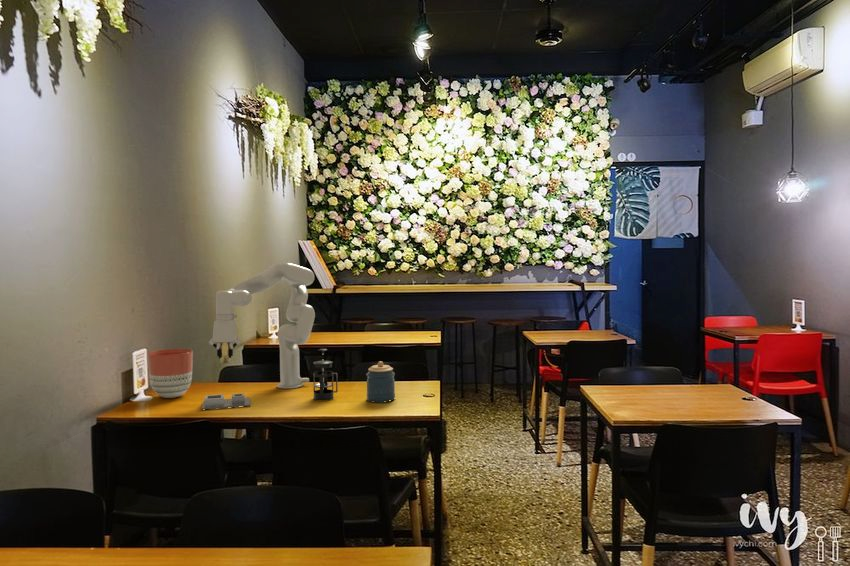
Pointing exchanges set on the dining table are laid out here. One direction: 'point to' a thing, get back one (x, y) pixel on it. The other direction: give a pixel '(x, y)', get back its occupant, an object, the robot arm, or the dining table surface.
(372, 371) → the canister
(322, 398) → the french press
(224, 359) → the tan cylinder
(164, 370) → the planter
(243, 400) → the manifold
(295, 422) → the dining table surface
